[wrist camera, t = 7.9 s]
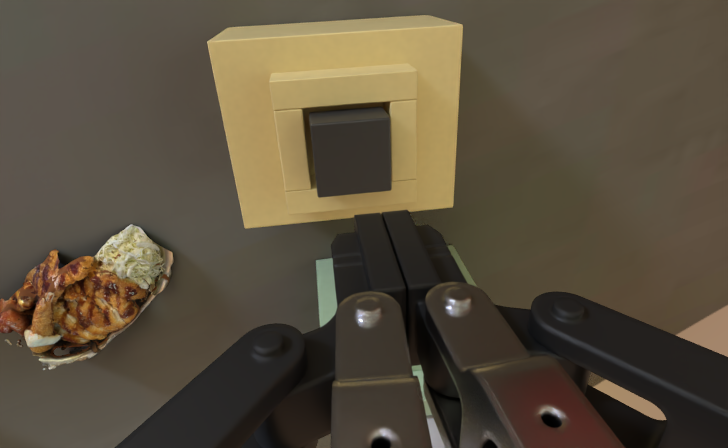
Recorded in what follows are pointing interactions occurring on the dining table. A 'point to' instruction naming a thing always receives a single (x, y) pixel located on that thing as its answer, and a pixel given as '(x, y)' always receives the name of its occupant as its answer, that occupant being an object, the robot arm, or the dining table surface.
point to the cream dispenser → (337, 92)
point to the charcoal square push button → (351, 151)
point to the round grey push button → (434, 433)
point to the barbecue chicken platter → (86, 297)
